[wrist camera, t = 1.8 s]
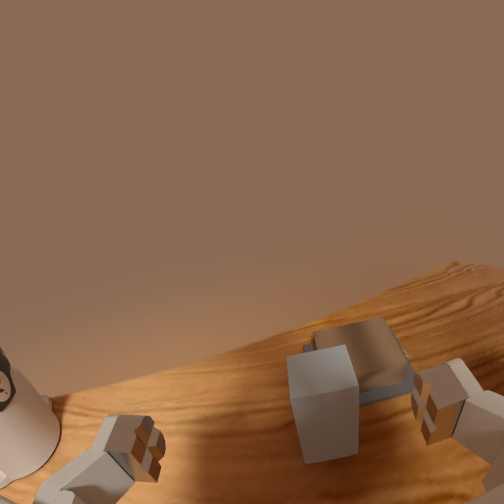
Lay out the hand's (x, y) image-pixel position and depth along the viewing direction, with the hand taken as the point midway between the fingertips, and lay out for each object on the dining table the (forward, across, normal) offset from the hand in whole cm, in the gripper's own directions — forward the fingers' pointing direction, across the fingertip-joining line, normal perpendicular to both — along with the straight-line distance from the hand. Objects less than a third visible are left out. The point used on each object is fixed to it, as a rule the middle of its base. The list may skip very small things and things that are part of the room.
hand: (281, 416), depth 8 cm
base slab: (+22, -7, +19) cm, 30 cm away
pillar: (+12, -2, +20) cm, 23 cm away
